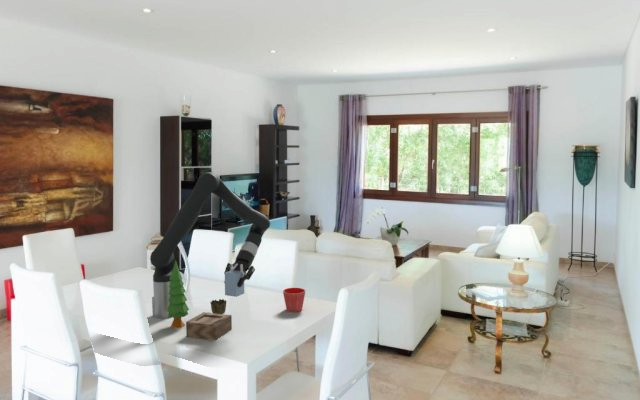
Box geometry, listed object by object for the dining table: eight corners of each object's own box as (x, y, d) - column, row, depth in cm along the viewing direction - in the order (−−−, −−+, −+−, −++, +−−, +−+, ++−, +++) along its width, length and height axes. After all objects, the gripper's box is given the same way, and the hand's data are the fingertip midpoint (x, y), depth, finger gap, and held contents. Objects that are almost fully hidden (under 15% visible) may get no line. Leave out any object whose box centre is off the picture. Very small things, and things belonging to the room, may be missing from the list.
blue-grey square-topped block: (225, 295, 229) (224, 272, 228) (232, 291, 234) (232, 269, 233) (236, 296, 226) (236, 274, 225) (244, 293, 232) (244, 271, 231)
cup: (211, 320, 242) (210, 303, 242) (210, 316, 249) (209, 299, 249) (227, 319, 244) (227, 302, 244) (226, 314, 251) (225, 298, 251)
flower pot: (302, 313, 253) (302, 293, 252) (280, 312, 255) (280, 292, 254) (307, 307, 263) (307, 288, 262) (286, 305, 265) (286, 287, 265)
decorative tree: (181, 321, 242) (179, 257, 239) (193, 325, 236) (192, 259, 233) (163, 326, 234) (160, 260, 232) (175, 331, 228) (173, 263, 226)
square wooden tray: (186, 337, 221) (186, 321, 221) (203, 327, 235) (203, 312, 234) (216, 341, 217) (215, 325, 216) (231, 330, 230) (231, 315, 230)
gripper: (230, 247, 238) (214, 279, 229) (257, 250, 232) (242, 282, 222) (237, 257, 243) (222, 288, 234) (263, 260, 237) (249, 292, 228)
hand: (232, 285), depth 228 cm, fingers closed on blue-grey square-topped block, 6 cm apart
